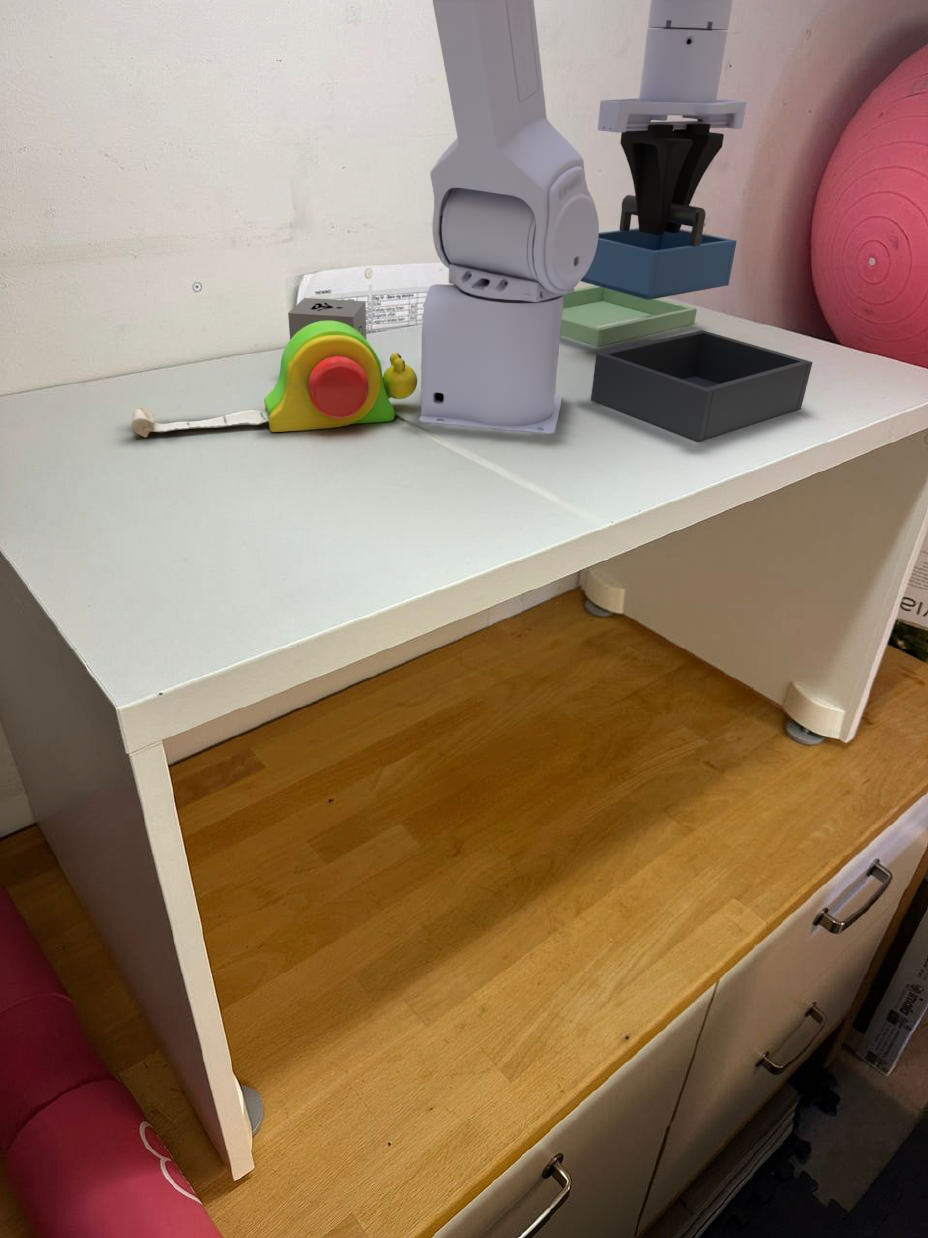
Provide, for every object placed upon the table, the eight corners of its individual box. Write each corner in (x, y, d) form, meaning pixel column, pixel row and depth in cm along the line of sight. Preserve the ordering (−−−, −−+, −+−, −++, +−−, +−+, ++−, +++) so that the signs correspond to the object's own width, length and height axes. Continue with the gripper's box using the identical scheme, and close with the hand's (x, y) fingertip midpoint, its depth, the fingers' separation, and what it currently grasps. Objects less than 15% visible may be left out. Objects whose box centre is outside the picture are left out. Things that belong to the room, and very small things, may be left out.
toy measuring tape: (427, 429, 62) (429, 333, 58) (133, 451, 57) (115, 348, 53) (406, 399, 67) (406, 309, 63) (134, 416, 62) (118, 320, 58)
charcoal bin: (696, 448, 60) (707, 391, 58) (589, 406, 67) (595, 352, 65) (799, 414, 67) (813, 361, 65) (693, 378, 74) (701, 329, 71)
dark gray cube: (308, 359, 74) (304, 297, 72) (367, 363, 74) (365, 301, 71) (292, 377, 70) (288, 312, 67) (355, 381, 70) (353, 316, 67)
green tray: (596, 351, 79) (599, 329, 78) (504, 321, 87) (505, 301, 86) (693, 328, 87) (697, 308, 86) (601, 302, 95) (603, 284, 94)
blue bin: (647, 300, 69) (659, 212, 65) (575, 279, 74) (583, 198, 70) (728, 285, 74) (743, 203, 70) (655, 267, 79) (666, 190, 76)
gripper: (662, 26, 58) (634, 248, 65) (793, 34, 66) (754, 232, 73) (586, 25, 62) (567, 233, 70) (716, 33, 70) (687, 219, 78)
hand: (658, 232), depth 72 cm, fingers closed on blue bin
